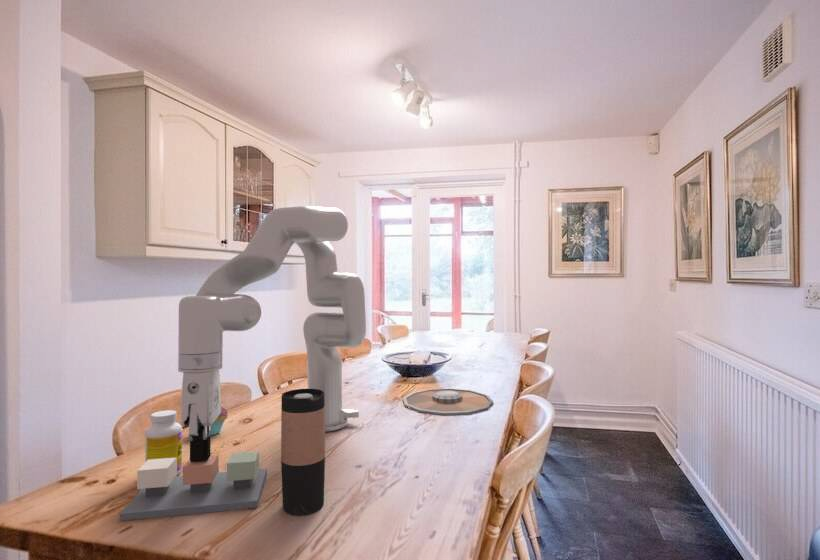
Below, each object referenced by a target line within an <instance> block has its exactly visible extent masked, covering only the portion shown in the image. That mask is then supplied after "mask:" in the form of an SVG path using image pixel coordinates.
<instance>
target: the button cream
mask: <svg viewBox="0 0 820 560" xmlns="http://www.w3.org/2000/svg"><path fill="white" fill-rule="evenodd" d="M136 471H137V472H136V474H137V475H136V476H137V479H136V480H137V481H136V483H137V484H136V488H137V490H141V489H145V488H156V487H168V486H169V484H170V483H171V482H172V480H173V479H174V478H175V476H176V475H177V457H176V458H163V459H149V460H147V461H146V462H144V463H143V464H142V465H141V466H140V467H139V468H138V469H137V470H136ZM177 476H178V475H177Z"/></svg>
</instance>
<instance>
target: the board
mask: <svg viewBox="0 0 820 560" xmlns="http://www.w3.org/2000/svg"><path fill="white" fill-rule="evenodd" d="M267 476H268V468H267V467H266V468H259V469H258V472H257V475H256V478H255V479H248V480H237V481H227V471H218V473H217V475H216V477H215V479H214V480H213V482H212V483H202V484H191V485H183V474H182V475H177V476H175V478H174V479H173V480H172V482H171V483H170V484H169V486H168V487H156V488H145V489H139V491H138V493H136V495H134V497H133V498H132V499H131V500H130V501H129V503H127V505H126V506H125V507H124V508H123V509H122V511H121V512H120V513H119V521H120V522H123V521H125V520H126V521H133V520H132V519H136V520H143V519H144V518H146V519H155V518H163V517H173V516H183V515H186V516H187V515H195V514H204V513H215V512H225V511H227V512H228V511H233V510H245V509H256V508H258V506H259V504H260V500H261V496H262V493H263V489H264V486H265V483H266V481H267V480H266V479H267Z"/></svg>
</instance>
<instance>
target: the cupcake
mask: <svg viewBox="0 0 820 560" xmlns="http://www.w3.org/2000/svg"><path fill="white" fill-rule="evenodd" d="M228 416H229V415H228V409H226V408H224V407H223V406H221V413H220V415H219V416H218V417H217V419H216V420H215V421H214V422H213V423H212V424H211V430H210V435H211V436H216V435H218V434H220V433H221V431H222V428H223V424H224V422H225V421H226V420H227V419H228ZM219 432H220V433H219ZM217 433H218V434H217ZM215 434H216V435H215Z"/></svg>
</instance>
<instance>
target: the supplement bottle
mask: <svg viewBox="0 0 820 560" xmlns="http://www.w3.org/2000/svg"><path fill="white" fill-rule="evenodd" d="M177 417H178V414H177V410H173V409H171V410H170V409H168V410H160V411H155V412H153V413H151V414H150V421H151V425H150V426H148V427H147V428H146V430H145V436H144V438H145V441H144V442H145V444H144V445H145V448H144V449H145V450H144V451H145V453H144V454H145V456H144V458H145V460H144V461H145V462H146V461H147V460H149V459H163V458H176V457H177V475H176V476H179V475H180V474H181V472H182V471H183V455H182V453H183V452H182V450H183V448H182V447H183V441H182V440H183V439H182V438H183V437H182V436H183V435H182V433H183V432H182V429H183V426H182V424H180V423H179V422H176V419H177ZM145 462H144V463H145Z"/></svg>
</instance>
